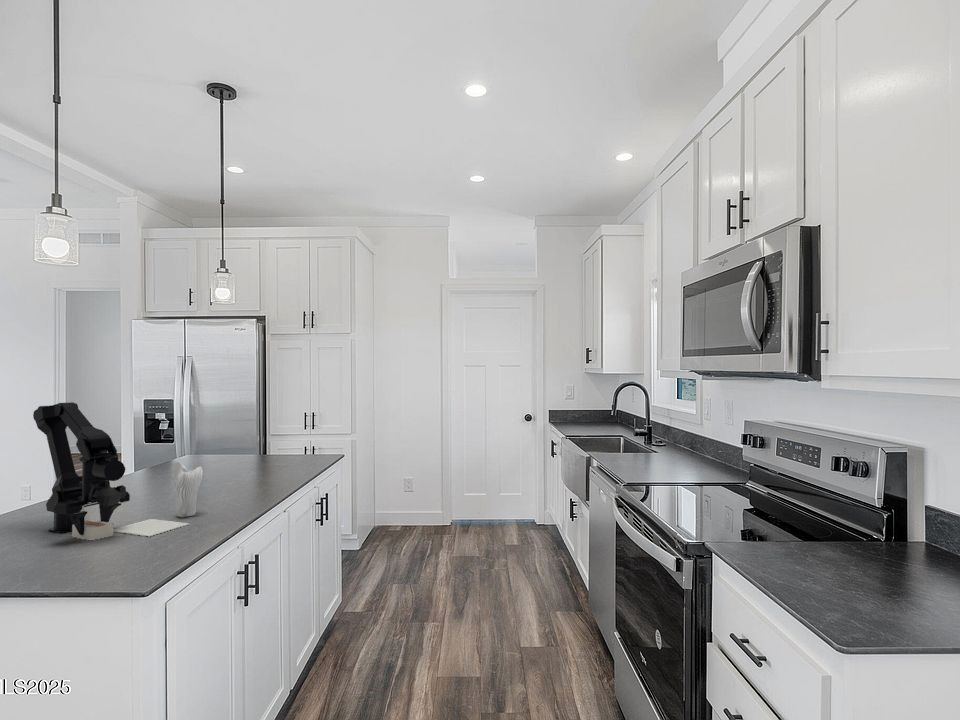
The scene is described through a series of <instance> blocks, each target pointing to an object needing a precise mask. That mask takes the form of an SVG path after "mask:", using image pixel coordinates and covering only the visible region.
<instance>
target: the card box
mask: <svg viewBox="0 0 960 720" xmlns="http://www.w3.org/2000/svg"><path fill="white" fill-rule="evenodd" d="M113 529H114V523H113V522H103V521H101V520H96V519H93V520H86V519H85V520H84V534H83V535H79V533H78V531H77V529H76V527H75V525H72V532H71V533H72V534H71V537H72V536H73V537H72V538H74V537H78V538H77V539H79V538H83V539H82V540H84V539H88V540H94V541H96V540H95V539H98V540H101V539H100V538H102V539H105V538H104V537H106V538H109V536H110V537H112V535H113V536H114V532H113ZM88 540H87V541H88Z"/></svg>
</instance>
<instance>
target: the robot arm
mask: <svg viewBox="0 0 960 720" xmlns="http://www.w3.org/2000/svg"><path fill="white" fill-rule="evenodd" d="M32 416H33V419H34V421H35V423H36V427H37V429H38V430H39V431H40V432H42V433H43V434H44V435H45V436H46V440H47V443H48V444H47V445H48V448H49V452H50V453H49V454H50V456H51V460H52V461H51V462H52V465H53V470H54V474H55V478H56V480H55V482H54V484H53V486H52V488H51V491H52V492H51V495H50V497H49V498H48V500H47V502H46V503H45V506H46V512H51V513H53V527H51V528H49V529H47V530H48V532H55V533H61V534H64V533H67V532H71V531H72V525H75V527H76V529H77V531H78V533H79V535H83V534H84V521H85V516H86V515H87V514H88V511H85V508H88V507H91V506H96V505H98V507H99V517H100V519H99V520H100V521H103V522H108V523H110V519H111V517H112V515H113V513H114V511H115V510H116V509H118V507H119V506H120V507H121V506H122V504H123V503H127V502H130V501H131V495H130V493H129V492H128V491H127V488H126V486H125V485H123V484H122V485H117V486H114V487H111V482H115V481H119V480H121V479H122V477H123V476H124V475H125V472H126V467H125V464H124V463H123V462H122V461H120V460H119V455H118V450H117V448H116V446H115V444H114V443H113V440H112V438H111V436H110V435H109V434H108V433H107V432H106V431H104V430H102V429H99V428H96V427H94V426H93V424H92V423H91V422H90V421H89V419H88V418H87V417H86V416H85V415H84V414H83V412H82V411H81V410H80V409H79V405H78V403H76V402H73V401H71V402H59V403H55V404H53V405H39V406H38V408H37V409H35V410H34V411H33V414H32ZM67 428H69V430H70V431H71V433H72V434H73V435H74V436H75V438H76V440H77V441H76V444H75V446H76V447H77V449H78V452H79V453H80V454H81V456H82V457H80V458H79V462H82V472H81V473H82V474H81V476H80V475H79V474H78V473H77V472H76V468H75V464H74V460H73V455H72V451H71V448H70V447H71V446H70V444H69V443H70V442H69V439H68V435H67V434H68V433H67V431H66V430H67ZM110 481H111V482H110Z"/></svg>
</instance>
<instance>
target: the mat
mask: <svg viewBox="0 0 960 720" xmlns="http://www.w3.org/2000/svg"><path fill="white" fill-rule="evenodd" d="M187 525H188V526H190V523H188V522H178V521H173V520H172V521H170V520H163V519H156V518H155V519H154V518H149V519H146V520H142V521H139V522H135V523H134V522H133V523H131V524H128V525H123V526H120V527H116V528H113V533H116V532H117V534H123V533H126V534H125V535H130V534H132V536H137V535H140V537H145V536H148V537H147V538H151V537H150V536H152V537H154V536H153V535H155V536H157V535H156V534H158V535H161V534H160V533H162V534H165V533H167V531H168V532H171V531H174V529H175V530H178V529H181V528H184V527H187ZM180 527H181V528H180ZM177 528H178V529H177ZM170 530H171V531H170ZM164 532H165V533H164Z"/></svg>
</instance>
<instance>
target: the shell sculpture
mask: <svg viewBox="0 0 960 720" xmlns="http://www.w3.org/2000/svg"><path fill="white" fill-rule="evenodd" d="M171 464H172V466H171V467H172V470H171V473H172V474H171V475H172V480H173V481H174V486H175V510H174V513H175V515H176V516H177V517H179V518H186V517H187V518H188V517H192V516H194V515H195V514H196V511H197V510H196V509H197V496H198V492H199V489H200V487H201V484H202V479H203V477H204V476H203V474H204V470H203V468H202V466H201V465H200V466H197V467H196V468H194V469H193V470H190V469H187V468H186V467H185V465H184V464H183V463H182V461H180V460H179V461H174V462H173V463H171Z"/></svg>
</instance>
